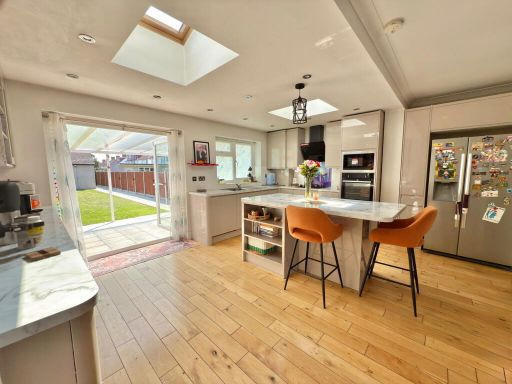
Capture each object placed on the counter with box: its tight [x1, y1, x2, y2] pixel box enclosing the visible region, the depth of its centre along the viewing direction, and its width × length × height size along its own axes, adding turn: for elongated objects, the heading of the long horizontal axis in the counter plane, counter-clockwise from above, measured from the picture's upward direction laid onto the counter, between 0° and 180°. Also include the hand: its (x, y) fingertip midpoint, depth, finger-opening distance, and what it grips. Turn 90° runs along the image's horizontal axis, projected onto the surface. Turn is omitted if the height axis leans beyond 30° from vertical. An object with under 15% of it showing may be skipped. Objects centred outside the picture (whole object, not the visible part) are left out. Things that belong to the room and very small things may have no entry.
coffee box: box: [14, 213, 45, 250], centre depth 106 cm, size 9×6×16 cm
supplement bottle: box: [26, 215, 45, 238], centre depth 99 cm, size 5×5×10 cm
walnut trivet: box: [24, 246, 62, 262], centre depth 93 cm, size 11×9×2 cm
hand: (41, 222), depth 101 cm, fingers closed on supplement bottle, 5 cm apart
